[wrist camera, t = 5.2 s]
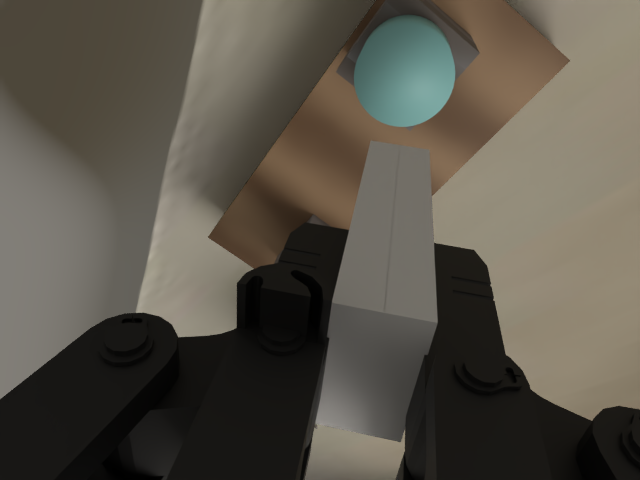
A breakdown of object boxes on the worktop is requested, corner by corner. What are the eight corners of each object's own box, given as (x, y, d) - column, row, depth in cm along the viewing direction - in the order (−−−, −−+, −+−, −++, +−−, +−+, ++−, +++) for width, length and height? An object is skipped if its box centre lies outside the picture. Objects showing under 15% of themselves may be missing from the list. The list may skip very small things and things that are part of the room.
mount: (323, 281, 45) (304, 351, 37) (224, 213, 43) (182, 272, 35) (554, 47, 31) (596, 82, 24) (426, -70, 29) (428, -72, 22)
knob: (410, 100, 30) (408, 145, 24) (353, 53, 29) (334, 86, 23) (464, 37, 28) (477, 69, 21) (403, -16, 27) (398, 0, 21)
